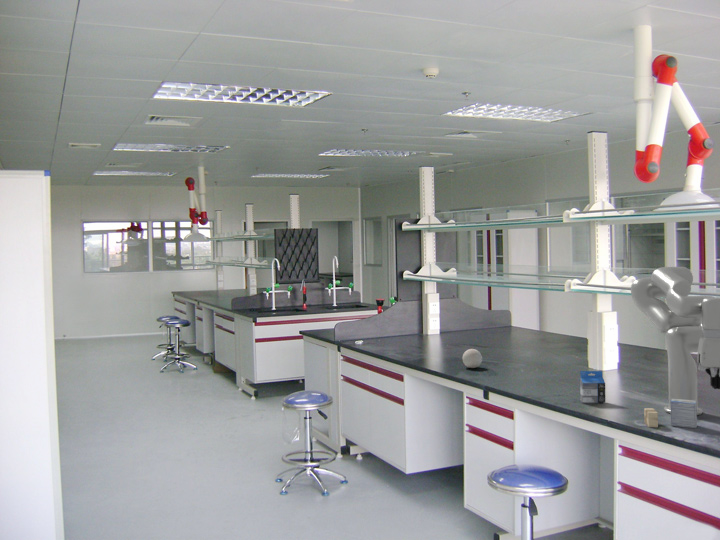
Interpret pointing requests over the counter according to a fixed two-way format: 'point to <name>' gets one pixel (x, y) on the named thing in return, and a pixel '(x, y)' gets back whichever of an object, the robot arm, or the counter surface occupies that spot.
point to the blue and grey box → (592, 387)
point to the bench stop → (650, 417)
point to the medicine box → (683, 413)
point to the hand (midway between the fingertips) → (716, 388)
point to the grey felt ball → (472, 358)
